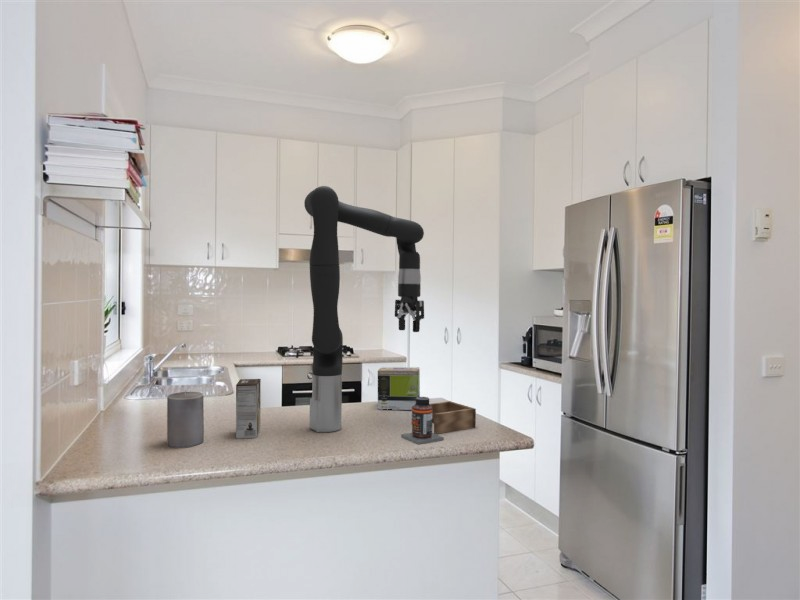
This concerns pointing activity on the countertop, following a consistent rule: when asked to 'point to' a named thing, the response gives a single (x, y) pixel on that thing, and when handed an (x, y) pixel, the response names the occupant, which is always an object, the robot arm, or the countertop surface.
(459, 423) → the walnut cubby
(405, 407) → the tea box
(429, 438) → the slate coaster
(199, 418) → the pillar candle
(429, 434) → the supplement bottle
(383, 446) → the countertop surface
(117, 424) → the countertop surface
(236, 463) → the countertop surface
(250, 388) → the coffee box
